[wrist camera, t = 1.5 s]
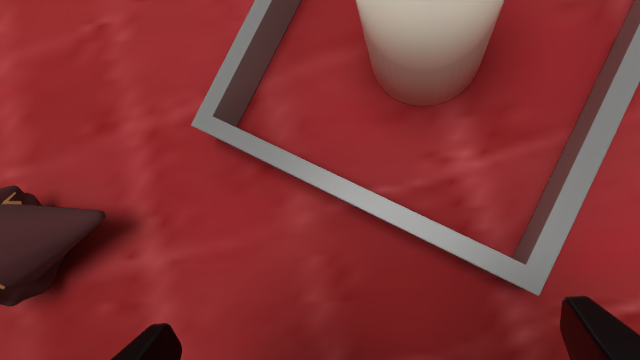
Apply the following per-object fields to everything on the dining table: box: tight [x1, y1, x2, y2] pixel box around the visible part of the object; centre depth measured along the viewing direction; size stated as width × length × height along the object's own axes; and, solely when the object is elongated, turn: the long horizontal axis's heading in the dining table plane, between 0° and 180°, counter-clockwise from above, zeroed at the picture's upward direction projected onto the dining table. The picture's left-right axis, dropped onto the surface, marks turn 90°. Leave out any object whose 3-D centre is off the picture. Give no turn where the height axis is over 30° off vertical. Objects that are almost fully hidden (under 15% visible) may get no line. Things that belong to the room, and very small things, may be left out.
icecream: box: [0, 185, 106, 306], centre depth 25 cm, size 7×7×15 cm
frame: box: [191, 0, 640, 296], centre depth 22 cm, size 20×20×3 cm
